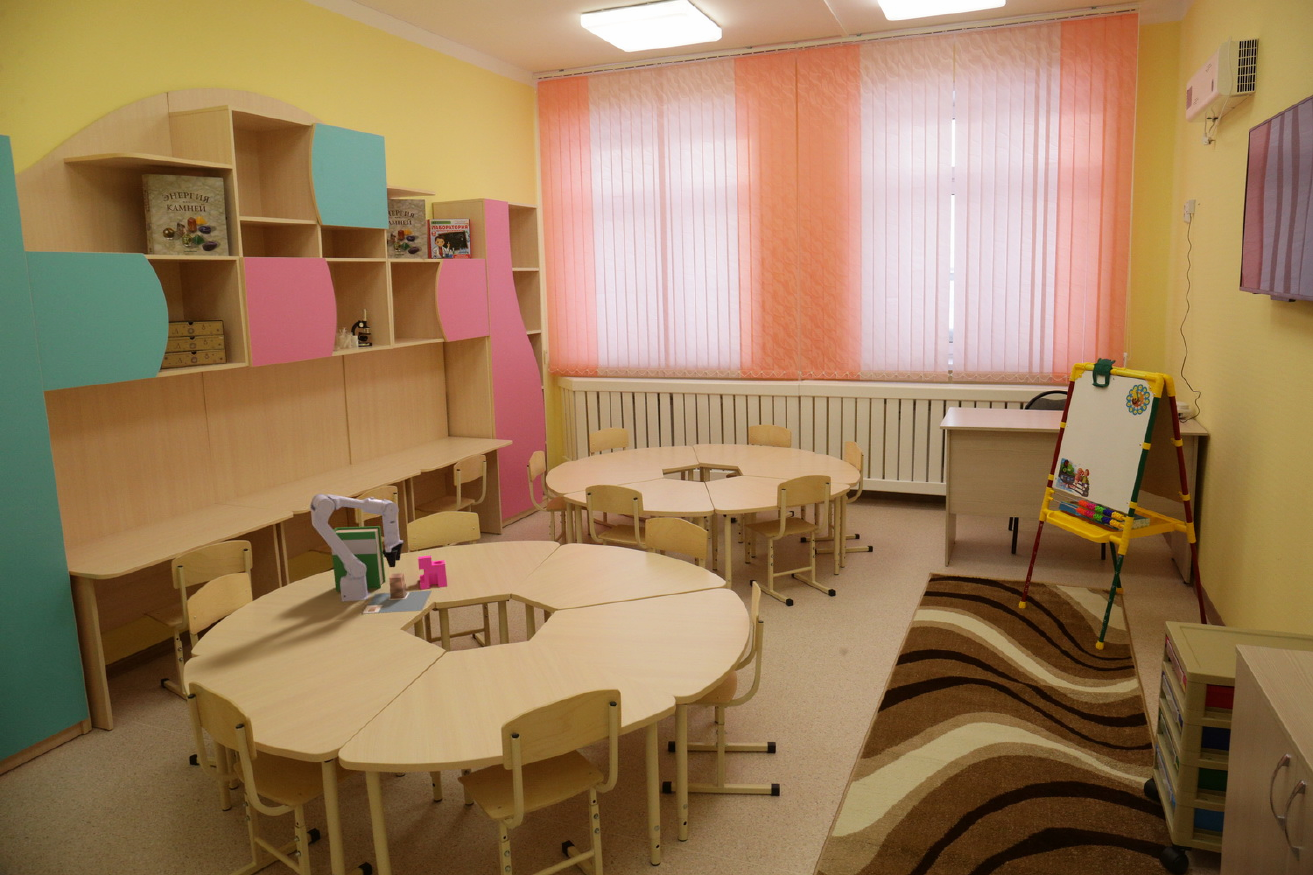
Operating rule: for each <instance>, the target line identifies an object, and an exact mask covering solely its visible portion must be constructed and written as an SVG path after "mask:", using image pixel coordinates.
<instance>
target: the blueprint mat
mask: <svg viewBox="0 0 1313 875" xmlns="http://www.w3.org/2000/svg"><path fill="white" fill-rule="evenodd" d="M406 592H407V594H406V595H405V597H404V598H398V599H391V597H390V592H381V593H374V595H372V597H371V599H370V601H369V602H368V603H367V606H365V608H364V610H363V611H362V613H361V614H362V615H366V614H368V615H369V614H384V613H385V614H386V613H402V612H418V611H419V612H420V611H423V609H424V608H425V605H426V604H427V601H428V599H429V598H430V595H431V594H432V590H420V591H418V590H417V591H406Z"/></svg>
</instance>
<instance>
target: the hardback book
mask: <svg viewBox="0 0 1313 875" xmlns="http://www.w3.org/2000/svg"><path fill="white" fill-rule="evenodd" d="M333 531H334V532H335V533H336V534H337V536H338V537H339V538H340V539H341V541H342V542H343V543H344V544H345V545H346V547H347V548H348V549H349V550H350V552H351V553H352V554H353V555H354V556H355V557H357V558H358V559H359V560H360V561H361V562H362V563H364V564H365V565H366V568H367V570H366V582H367V590H368V589H381V588H382V584H383V583H386V581H387V580H386V571H385V570H386V569H385V560H384V555H383V553H382V551H383V550H384V549H383V543H382V542H383V540H382V531H381V526H380V525H376V526H346V527H345V526H343V527H335V528H334V529H333ZM330 549H331V557H332V565H333V573H334V576H333V577H334V582H335V591H336V592H341V588H340V581H341V578H342V577H343V576H346V574H347V571H346V570H345V568H344V564H343V562H342V561H341V559H340V558H339V557H338V555H337V554H336V553H335V552H334V551H333V549H332V548H331V547H330Z"/></svg>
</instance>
